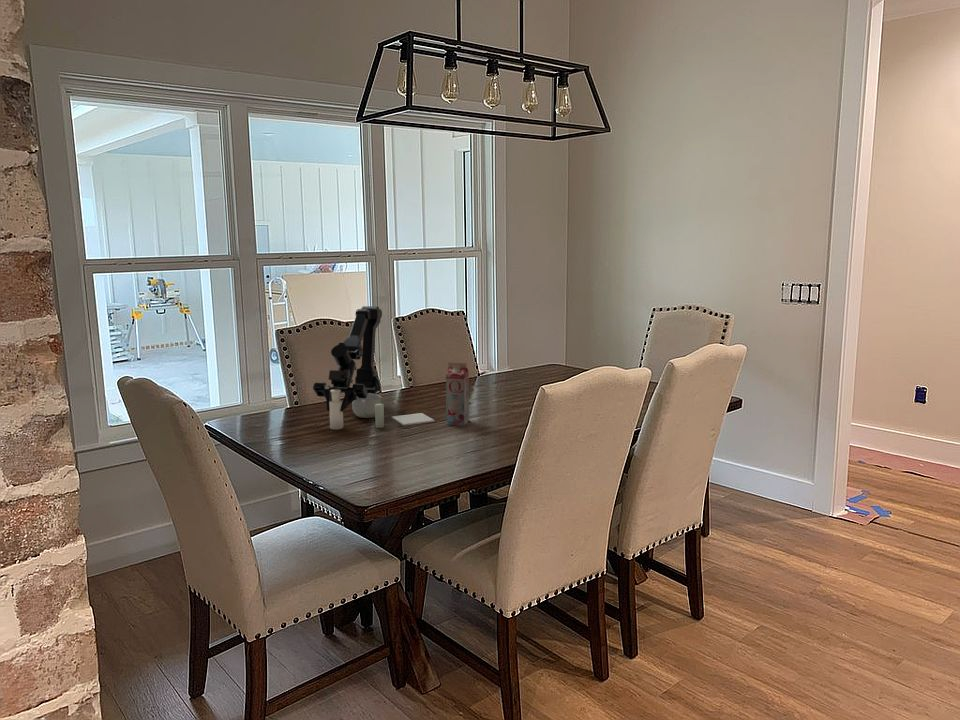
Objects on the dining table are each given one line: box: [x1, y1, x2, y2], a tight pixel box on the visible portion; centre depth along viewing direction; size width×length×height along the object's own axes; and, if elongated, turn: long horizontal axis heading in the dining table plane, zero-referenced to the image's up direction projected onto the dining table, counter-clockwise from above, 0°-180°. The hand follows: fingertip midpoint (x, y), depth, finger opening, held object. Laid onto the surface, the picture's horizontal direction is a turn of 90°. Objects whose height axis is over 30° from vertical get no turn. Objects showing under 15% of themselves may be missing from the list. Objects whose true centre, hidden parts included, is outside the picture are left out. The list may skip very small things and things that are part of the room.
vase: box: [329, 389, 344, 431], centre depth 267 cm, size 5×5×14 cm
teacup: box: [351, 393, 382, 419], centre depth 283 cm, size 14×11×8 cm
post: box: [374, 403, 385, 429], centre depth 269 cm, size 3×3×8 cm
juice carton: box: [445, 362, 470, 426], centre depth 273 cm, size 7×7×22 cm
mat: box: [391, 412, 435, 426], centre depth 279 cm, size 12×12×1 cm
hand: (334, 410), depth 266 cm, fingers closed on vase, 5 cm apart
